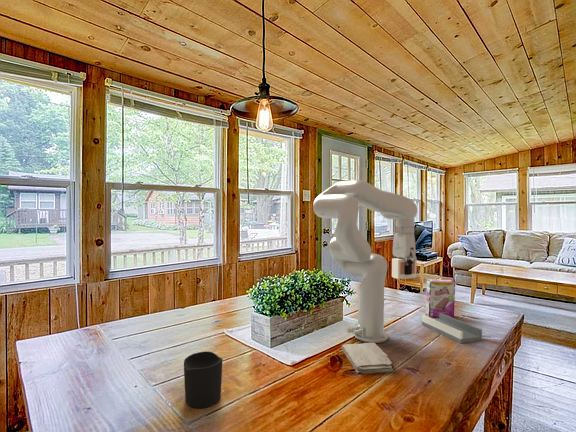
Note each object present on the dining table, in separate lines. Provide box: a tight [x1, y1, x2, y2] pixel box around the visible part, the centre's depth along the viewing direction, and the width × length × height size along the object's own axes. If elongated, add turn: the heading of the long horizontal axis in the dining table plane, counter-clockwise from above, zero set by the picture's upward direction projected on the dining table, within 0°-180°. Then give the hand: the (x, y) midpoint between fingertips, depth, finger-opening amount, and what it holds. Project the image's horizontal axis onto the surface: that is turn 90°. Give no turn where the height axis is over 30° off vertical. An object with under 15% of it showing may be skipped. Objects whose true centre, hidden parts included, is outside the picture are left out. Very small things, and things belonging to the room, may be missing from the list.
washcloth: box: [341, 342, 394, 374], centre depth 105 cm, size 12×18×3 cm, turn 8°
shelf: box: [421, 313, 483, 344], centre depth 129 cm, size 20×10×4 cm, turn 18°
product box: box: [391, 257, 418, 280], centre depth 139 cm, size 9×5×8 cm, turn 107°
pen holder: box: [183, 350, 223, 409], centre depth 82 cm, size 9×9×10 cm
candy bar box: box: [425, 278, 456, 319], centre depth 149 cm, size 11×5×16 cm, turn 84°
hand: (403, 272), depth 139 cm, fingers closed on product box, 4 cm apart
